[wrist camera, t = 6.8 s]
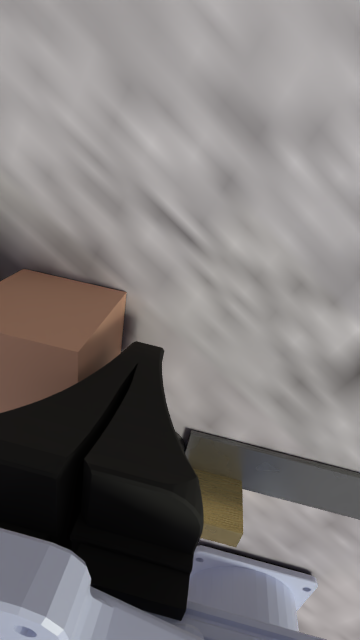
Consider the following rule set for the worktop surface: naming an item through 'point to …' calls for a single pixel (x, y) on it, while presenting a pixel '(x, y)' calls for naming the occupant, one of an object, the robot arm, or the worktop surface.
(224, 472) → the frame
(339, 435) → the worktop surface
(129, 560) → the robot arm
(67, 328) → the block
